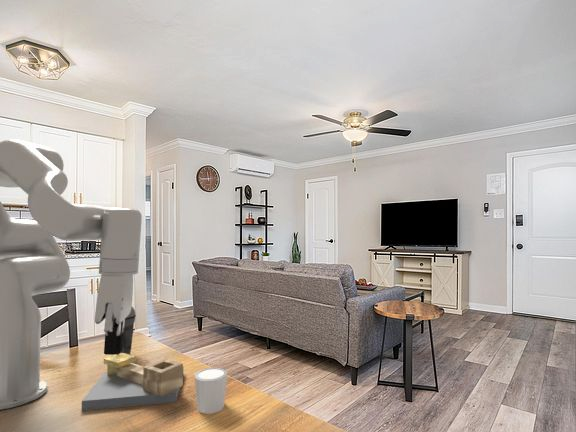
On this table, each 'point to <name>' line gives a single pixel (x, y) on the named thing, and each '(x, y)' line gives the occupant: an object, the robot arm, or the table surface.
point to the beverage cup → (128, 332)
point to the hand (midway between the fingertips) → (113, 352)
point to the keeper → (117, 362)
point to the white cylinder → (210, 389)
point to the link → (155, 376)
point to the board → (122, 394)
